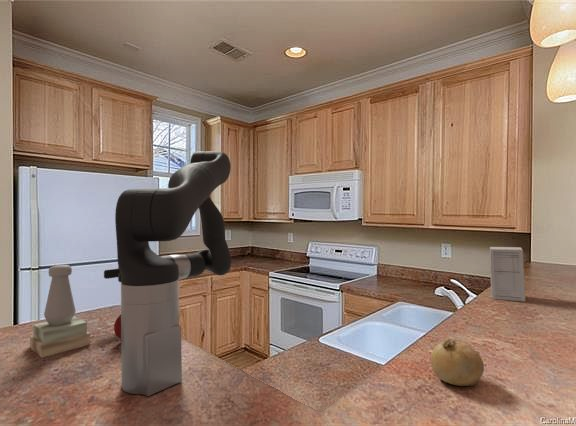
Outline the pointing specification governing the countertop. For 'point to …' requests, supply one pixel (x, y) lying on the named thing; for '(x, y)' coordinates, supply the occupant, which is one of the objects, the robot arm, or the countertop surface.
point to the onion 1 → (118, 327)
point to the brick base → (59, 345)
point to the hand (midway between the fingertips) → (111, 276)
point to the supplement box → (507, 273)
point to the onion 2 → (457, 363)
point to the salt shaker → (59, 297)
